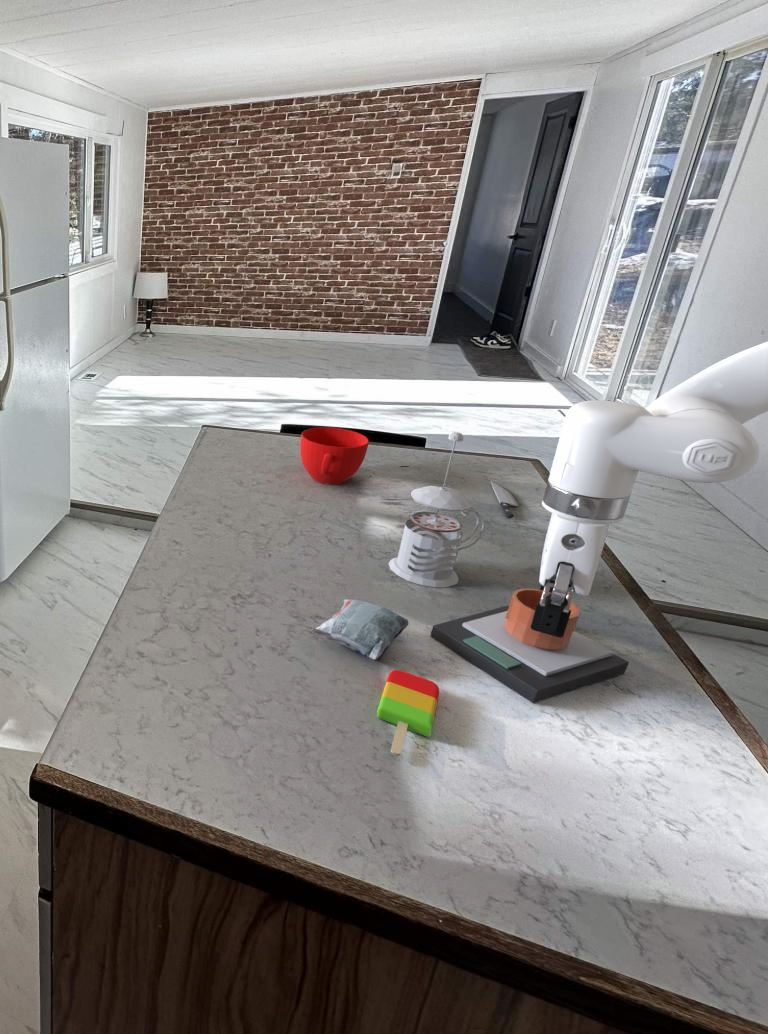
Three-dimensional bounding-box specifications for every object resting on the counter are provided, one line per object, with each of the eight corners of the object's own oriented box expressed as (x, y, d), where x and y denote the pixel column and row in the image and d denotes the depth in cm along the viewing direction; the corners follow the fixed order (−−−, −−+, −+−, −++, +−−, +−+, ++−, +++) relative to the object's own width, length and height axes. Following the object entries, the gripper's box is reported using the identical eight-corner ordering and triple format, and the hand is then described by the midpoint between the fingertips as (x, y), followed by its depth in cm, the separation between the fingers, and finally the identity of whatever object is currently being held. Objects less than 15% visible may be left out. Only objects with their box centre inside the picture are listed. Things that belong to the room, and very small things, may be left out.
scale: (513, 613, 96) (517, 599, 95) (624, 674, 84) (631, 658, 83) (429, 636, 92) (433, 621, 91) (533, 703, 80) (539, 687, 79)
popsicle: (438, 694, 82) (441, 682, 81) (422, 771, 72) (425, 758, 71) (388, 676, 85) (391, 665, 85) (366, 747, 75) (368, 735, 74)
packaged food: (309, 643, 92) (315, 615, 90) (344, 609, 99) (350, 582, 97) (375, 674, 86) (382, 644, 84) (407, 636, 93) (415, 608, 91)
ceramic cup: (287, 490, 139) (293, 447, 135) (300, 463, 152) (306, 423, 148) (355, 502, 132) (363, 458, 128) (363, 473, 145) (371, 432, 141)
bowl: (526, 617, 91) (537, 584, 89) (580, 646, 85) (593, 611, 83) (490, 627, 90) (500, 594, 88) (543, 657, 84) (555, 622, 82)
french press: (379, 554, 113) (408, 421, 104) (453, 558, 111) (489, 422, 102) (402, 585, 104) (436, 442, 95) (483, 590, 102) (526, 444, 93)
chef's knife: (507, 485, 136) (489, 482, 137) (508, 480, 135) (491, 477, 137) (525, 523, 120) (505, 519, 122) (527, 518, 120) (507, 514, 121)
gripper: (625, 535, 71) (583, 659, 77) (627, 483, 83) (591, 596, 89) (537, 517, 76) (505, 635, 82) (551, 471, 88) (521, 578, 94)
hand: (550, 615), depth 86 cm, fingers open, 9 cm apart
